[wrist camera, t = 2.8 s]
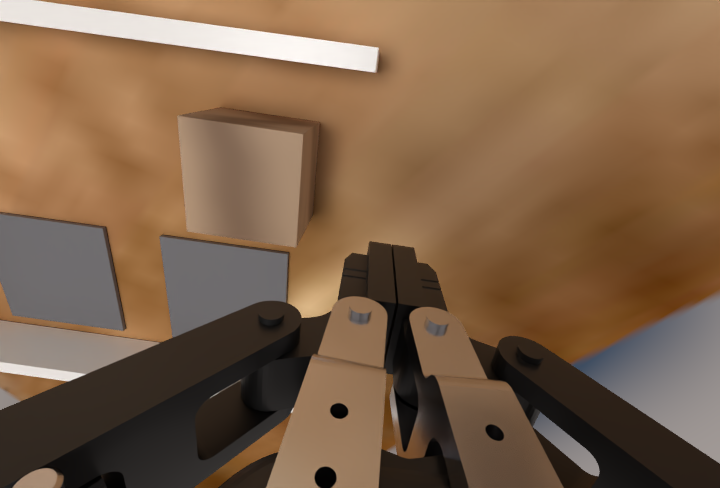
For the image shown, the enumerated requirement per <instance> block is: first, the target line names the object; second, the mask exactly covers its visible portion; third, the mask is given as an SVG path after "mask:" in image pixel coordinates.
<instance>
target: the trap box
mask: <svg viewBox="0 0 720 488" xmlns="http://www.w3.org/2000/svg"><path fill="white" fill-rule="evenodd" d="M0 21H3V22H11V23H18V24H25V25H32V26H40V27H47V28H54V29H61V30H69V31H76V32H83V33H90V34H98V35H105V36H112V37H119V38H127V39H134V40H141V41H148V42H156V43H163V44H170V45H177V46H185V47H192V48H199V49H206V50H214V51H221V52H228V53H235V54H243V55H250V56H257V57H264V58H272V59H279V60H286V61H293V62H301V63H308V64H315V65H322V66H330V67H337V68H344V69H352V70H359V71H366V72H373V73H377V69H378V61H379V54H380V52H379V48H377V47H370V46H362V45H355V44H348V43H340V42H333V41H326V40H319V39H311V38H304V37H297V36H290V35H282V34H275V33H268V32H261V31H253V30H246V29H239V28H231V27H224V26H217V25H210V24H202V23H195V22H188V21H181V20H173V19H166V18H159V17H152V16H144V15H137V14H130V13H123V12H115V11H108V10H101V9H93V8H86V7H79V6H72V5H64V4H57V3H50V2H43V1H35V0H0ZM160 244H161V252H162V259H163V267H164V275H165V282H166V290H167V298H168V305H169V313H170V321H171V328H172V336H173V338H174V337H176V336H178V335H181V334H183V333H185V332H188V331H190V330H193V329H195V328H197V327H200V326H202V325H205V324H207V323H209V322H212V321H214V320H216V319H219V318H221V317H224V316H226V315H228V314H231V313H233V312H236V311H238V310H240V309H243V308H245V307H247V306H250V305H252V304H255V303H258V302H262V301H281V302H285V303H287V284H288V260H289V252H282V251H275V250H268V249H261V248H254V247H246V246H239V245H232V244H225V243H218V242H210V241H203V240H196V239H189V238H182V237H175V236H167V235H161V236H160ZM0 282H1V284H2V287H3V290H4V293H5V295H6V298H7V301H8V304H9V306H10V309H11V312H12V315H14V316H21V317H28V318H35V319H42V320H50V321H57V322H64V323H71V324H78V325H85V326H92V327H100V328H107V329H114V330H121V331H124V330H125V329H126V326H125V321H124V316H123V311H122V306H121V301H120V296H119V291H118V286H117V281H116V276H115V271H114V266H113V261H112V256H111V251H110V246H109V241H108V236H107V231H106V227H103V226H95V225H88V224H81V223H74V222H67V221H60V220H52V219H45V218H38V217H31V216H24V215H16V214H9V213H2V212H0ZM157 344H159V342H152V341H145V340H138V339H131V338H124V337H116V336H109V335H102V334H95V333H88V332H81V331H74V330H66V329H59V328H52V327H45V326H38V325H31V324H24V323H16V322H9V321H2V320H0V372H6V373H13V374H21V375H28V376H35V377H42V378H49V379H56V380H63V381H71V380H73V379H76V378H78V377H81V376H83V375H85V374H88V373H90V372H92V371H95V370H97V369H100V368H102V367H104V366H107V365H109V364H112V363H114V362H116V361H119V360H121V359H123V358H126V357H128V356H131V355H133V354H135V353H138V352H140V351H143V350H145V349H147V348H150V347H152V346H154V345H157ZM239 381H240V380H239ZM237 382H238V381H237ZM234 384H235V383H234ZM232 385H233V384H232ZM229 387H230V386H229ZM227 388H228V387H227ZM225 389H226V388H225ZM222 391H223V390H222ZM220 392H221V391H220ZM218 393H219V392H218ZM218 393H217V394H218ZM215 395H216V394H215ZM213 396H214V395H213ZM210 398H211V397H210ZM293 409H294V408H293ZM293 409H292V411H291V413H292V412H293Z"/></svg>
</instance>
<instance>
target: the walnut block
mask: <svg viewBox="0 0 720 488" xmlns="http://www.w3.org/2000/svg"><path fill="white" fill-rule="evenodd" d="M177 118H178V130H179V142H180V154H181V166H182V178H183V189H184V201H185V213H186V225H187V231H188V232H195V233H201V234H208V235H215V236H222V237H229V238H235V239H242V240H249V241H256V242H263V243H269V244H276V245H283V246H290V247H297V245H298V243H299V241H300V239H301V237H302V235H303V233H304V231H305V230H306V228H307V226H308V224H309V222H310V220H311V218H312V216H313V205H314V192H315V180H316V167H317V155H318V142H319V130H320V122H316V121H309V120H302V119H295V118H289V117H282V116H275V115H268V114H261V113H255V112H248V111H241V110H234V109H227V108H215V109H210V110H205V111H199V112H194V113H189V114H184V115H179V116H177Z"/></svg>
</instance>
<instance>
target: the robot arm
mask: <svg viewBox="0 0 720 488" xmlns="http://www.w3.org/2000/svg"><path fill="white" fill-rule="evenodd" d="M438 282H439V281H438V278H437V275H436V272H435V271H434V270H433V269H432V268H431V267H430V266H429V265H428V264H424V263H417V259H416V255H415V250H414V248H412V247H405V246H398V245H392V247H391V244H384V243H378V242H371V241H370V242H369V247H368V253H367V255H363V254H356V253H352V254H351V255H349V256H348V257H347V258H346V259H345V262H344V268H343V273H342V279H341V284H340V290H339V296H338V301H337V302H336V303H335V304H334V306H333V309H332V311H330V312H329V313H327V314H325V315H322V316H318V317H311V318H301V314H300V312H299V311H298V310H297V309H296V308H295V307H294V306H292V305H290V304H288V303H285V302H281V301H262V302H258V303H255V304H252V305H250V306H247V307H245V308H243V309H240V310H238V311H236V312H233V313H231V314H228V315H226V316H224V317H221V318H219V319H216V320H214V321H212V322H209V323H207V324H205V325H202V326H200V327H197V328H195V329H193V330H190V331H188V332H185V333H183V334H181V335H178V336H176V337H174V338H171V339H169V340H166V341H164V342H162V343H159V344H157V345H154V346H152V347H150V348H147V349H145V350H143V351H140V352H138V353H135V354H133V355H131V356H128V357H126V358H123V359H121V360H119V361H116V362H114V363H112V364H109V365H107V366H104V367H102V368H100V369H97V370H95V371H92V372H90V373H88V374H85V375H83V376H81V377H78V378H76V379H73V380H71V381H69V382H66V383H64V384H61V385H59V386H57V387H54V388H52V389H50V390H47V391H45V392H42V393H40V394H38V395H35V396H33V397H30V398H28V399H26V400H23V401H21V402H19V403H16V404H14V405H11V406H9V407H7V408H4V409H2V410H0V488H194V487H195V486H196V485H198V484H199V483H200V482H202V481H203V480H204V479H206V478H207V477H208V476H210V475H211V474H212V473H214V472H215V471H216V470H218V469H219V468H220V467H222V466H223V465H224V464H226V463H227V462H228V461H230V460H231V459H232V458H234V457H235V456H236V455H238V454H239V453H241V452H242V451H243V450H245V449H246V448H247V447H249V446H250V445H251V444H253V443H254V442H255V441H257V440H258V439H259V438H261V437H262V436H263V435H265V434H266V433H267V432H269V431H270V430H271V429H273V428H274V427H275V426H277V425H278V424H279V423H281V422H282V421H283V420H285V419H286V418H287V417H288V416H289V414H290V413H291V411H292V409H293V408H294V409H293V412H292V415H291V417H290V420H289V423H288V426H287V429H286V432H285V435H284V438H283V441H282V443H281V446H280V449H279V452H277V453H274V454H271V455H269V456H266V457H263V458H261V459H259V460H257V461H255V462H253V463H251V464H250V465H248V466H246V467H245V468H243V469H242V470H240V471H239V472H237V473H236V474H234V475H233V476H232V477H231V478H229V479H228V480H227V481H226V482H224V483H223V484H222V485H221V486H220V487H218V488H720V464H719V463H718V462H716V461H715V460H713V459H712V458H710V457H709V456H707V455H706V454H704V453H703V452H701V451H700V450H698V449H697V448H695V447H694V446H692V445H691V444H689V443H688V442H686V441H685V440H683V439H682V438H680V437H679V436H677V435H676V434H674V433H673V432H671V431H670V430H668V429H667V428H665V427H664V426H662V425H661V424H659V423H658V422H656V421H655V420H653V419H652V418H650V417H649V416H647V415H646V414H644V413H643V412H641V411H640V410H638V409H637V408H635V407H634V406H632V405H631V404H629V403H628V402H626V401H624V400H623V399H622V398H620V397H619V396H617V395H616V394H614V393H612V392H611V391H610V390H608V389H607V388H605V387H603V386H602V385H600V384H599V383H597V382H596V381H595V380H593V379H592V378H590V377H589V376H587V375H586V374H584V373H583V372H581V371H580V370H578V369H577V368H575V367H574V366H572V365H571V364H569V363H567V362H566V361H564V360H563V359H561V358H560V357H558V356H557V355H555V354H554V353H552V352H551V351H549V350H548V349H546V348H545V347H543V346H542V345H540V344H538V343H536V342H534V341H532V340H529V339H526V338H523V337H518V336H508V337H505V338H502V339H501V340H500V341H499V344H498V346H497V348H495V347H492V346H489V345H487V344H484V343H481V342H478V341H476V340H473V339H471V338H469V337H468V335H467V333H466V331H465V329H464V326H463V325H462V323H461V322H460V321H459V319H457V318H456V317H455V316H454V315H452V314H450V313H449V312H448V311H447V308H446V304H445V301H444V298H443V294H442V291H441V288H440V284H439V283H438ZM386 373H387V374H393V385H392V389H391V393H390V404H391V412H392V419H393V427H394V435H395V442H396V450H397V455H395V454H393V453H390V452H388V451H385V450H382V449H381V444H382V430H383V415H384V401H385V386H386ZM239 380H240V381H239ZM237 381H238V382H237ZM234 383H235V384H234ZM232 384H233V385H232ZM229 386H230V387H229ZM227 387H228V388H227ZM225 388H226V389H225ZM222 390H223V391H222ZM220 391H221V392H220ZM218 392H219V393H218ZM217 393H218V394H217ZM215 394H216V395H215ZM213 395H214V396H213ZM210 397H211V398H210ZM540 412H541V413H542V414H544V415H545V416H546V417H547V418H549V419H550V420H551V421H552V422H554V423H555V424H556V425H557V426H559V427H560V428H561V429H562V430H563V431H565V432H566V433H567V434H568V435H570V436H571V437H572V438H573V439H575V440H576V441H577V442H578V443H580V444H581V445H582V446H583V447H585V448H586V449H587V450H588V451H589V452H590V453H591V454H592V455H593V456H594V458H595V459H596V461H597V463H598V465H599V469H600V474H599V476H593V475H590V474H588V473H587V472H585V471H584V470H582V469H581V468H580V467H579V466H578V465H577V464H575V463H574V462H573V461H572V460H571V459H569V458H568V457H567V456H566V455H565V454H564V453H562V452H561V451H560V450H559V449H558V448H556V447H555V446H554V445H553V444H552V443H551V442H550V441H548V440H547V439H546V438H545V437H544V436H543V435H541V434H540V433H539V432H538V431H537V430H536V429H534V428H533V425H534V423H535V421H536V419H537V417H538V415H539V413H540Z"/></svg>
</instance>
